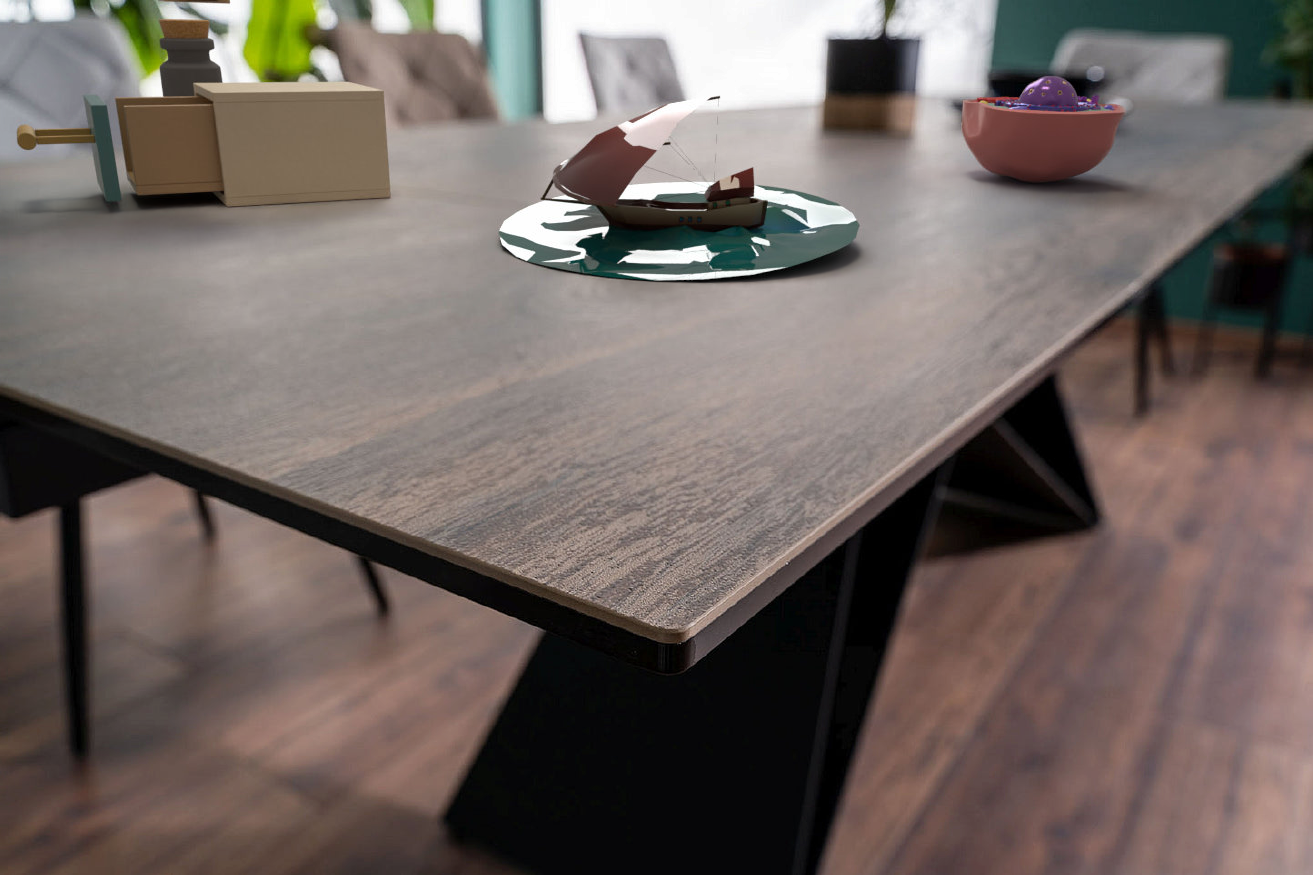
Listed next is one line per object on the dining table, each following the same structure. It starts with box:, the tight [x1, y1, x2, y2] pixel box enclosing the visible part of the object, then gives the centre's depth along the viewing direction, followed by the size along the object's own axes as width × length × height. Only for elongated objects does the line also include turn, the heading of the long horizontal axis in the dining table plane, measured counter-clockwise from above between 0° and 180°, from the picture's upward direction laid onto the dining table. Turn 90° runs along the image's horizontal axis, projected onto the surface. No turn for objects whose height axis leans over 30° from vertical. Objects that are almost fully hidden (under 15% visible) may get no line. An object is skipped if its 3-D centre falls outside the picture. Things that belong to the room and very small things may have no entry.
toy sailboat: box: [498, 95, 860, 281], centre depth 83 cm, size 28×28×11 cm
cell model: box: [960, 75, 1127, 184], centre depth 121 cm, size 17×20×11 cm
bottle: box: [158, 18, 224, 97], centre depth 111 cm, size 6×6×15 cm
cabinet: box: [193, 81, 392, 208], centre depth 101 cm, size 15×13×10 cm
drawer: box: [16, 94, 224, 202], centre depth 96 cm, size 19×11×8 cm, turn 119°
